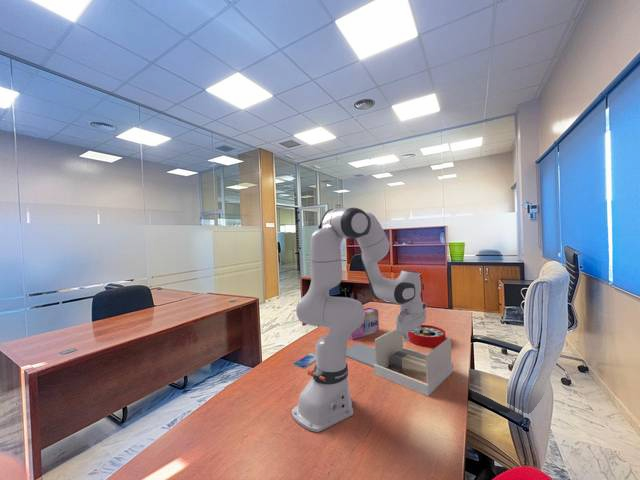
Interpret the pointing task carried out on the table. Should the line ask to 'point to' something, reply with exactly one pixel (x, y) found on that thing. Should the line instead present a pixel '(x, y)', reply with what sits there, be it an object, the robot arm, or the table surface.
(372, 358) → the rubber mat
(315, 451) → the table surface
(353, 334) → the gum box
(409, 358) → the block
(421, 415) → the table surface
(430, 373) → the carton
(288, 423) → the table surface
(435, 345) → the toy clock
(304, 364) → the smartphone
